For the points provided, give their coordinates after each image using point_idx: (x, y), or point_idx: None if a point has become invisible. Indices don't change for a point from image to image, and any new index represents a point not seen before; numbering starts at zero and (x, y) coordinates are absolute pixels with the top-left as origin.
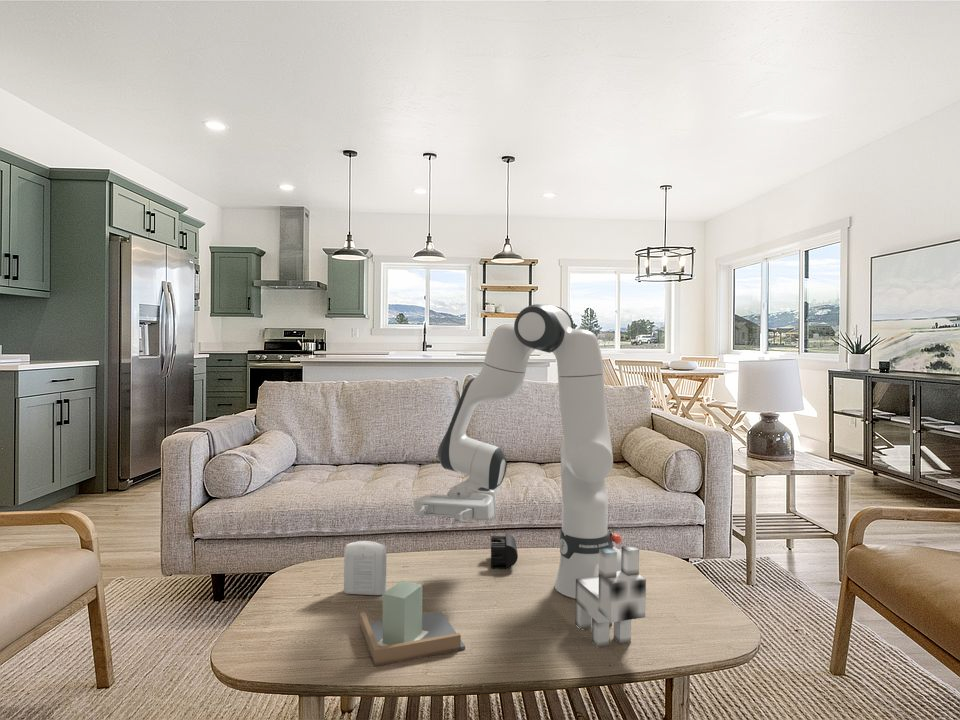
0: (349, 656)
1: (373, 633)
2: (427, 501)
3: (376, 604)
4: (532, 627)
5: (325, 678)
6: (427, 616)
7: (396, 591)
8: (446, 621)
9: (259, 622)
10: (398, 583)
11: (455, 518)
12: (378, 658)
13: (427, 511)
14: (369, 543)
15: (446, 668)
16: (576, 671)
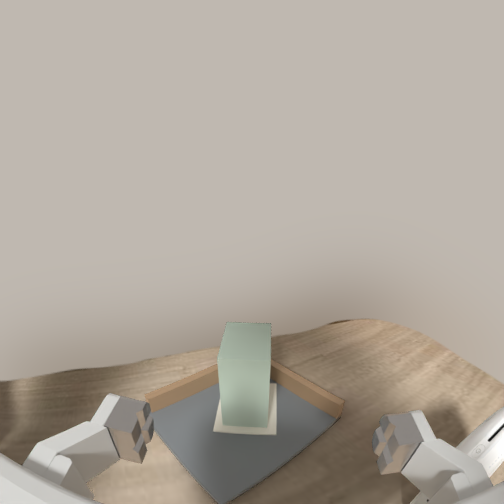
0: (295, 368)
1: (301, 404)
2: (495, 493)
3: (381, 482)
4: None
5: (289, 339)
6: (241, 477)
7: (253, 332)
8: (193, 470)
9: (453, 367)
10: (268, 351)
11: (148, 417)
12: None
13: (392, 451)
14: (492, 426)
15: (161, 378)
16: (15, 384)
